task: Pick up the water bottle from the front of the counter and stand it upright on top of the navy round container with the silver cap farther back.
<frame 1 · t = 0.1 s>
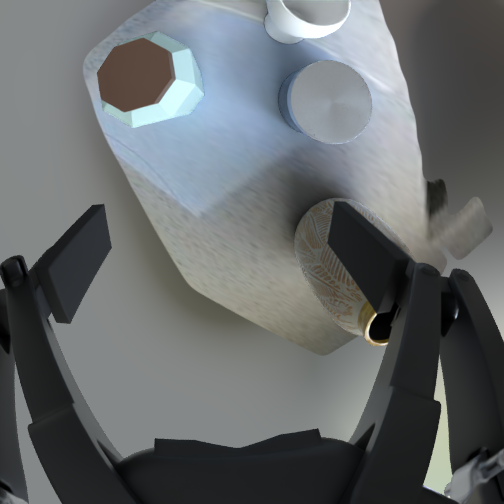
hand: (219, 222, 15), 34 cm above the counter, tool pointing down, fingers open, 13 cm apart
vase: (328, 230, 55), on the counter
water bottle: (175, 90, 39), on the counter
cup: (286, 25, 35), on the counter
navy round container: (313, 101, 42), on the counter
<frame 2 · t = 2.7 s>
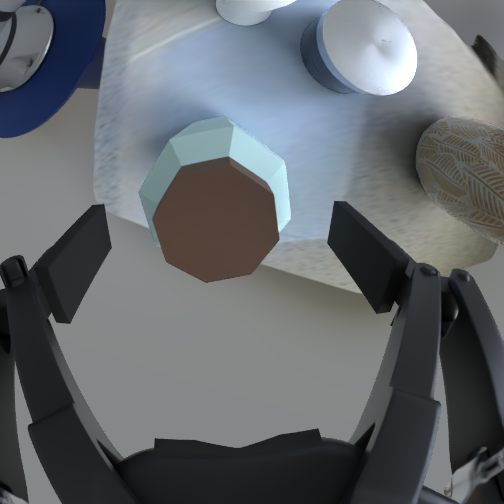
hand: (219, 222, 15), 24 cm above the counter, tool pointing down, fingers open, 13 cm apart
vase: (439, 156, 39), on the counter
water bottle: (215, 150, 36), on the counter
cup: (244, 3, 25), on the counter
navy round container: (342, 53, 30), on the counter
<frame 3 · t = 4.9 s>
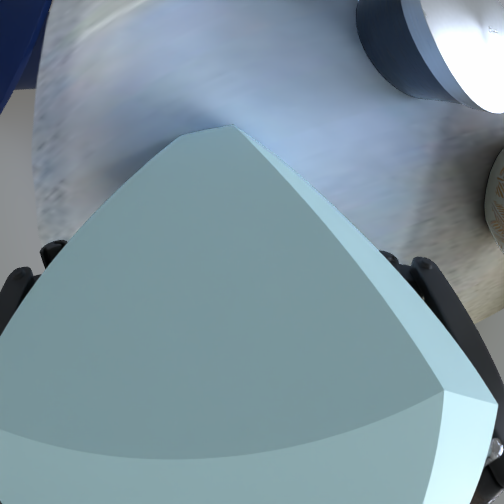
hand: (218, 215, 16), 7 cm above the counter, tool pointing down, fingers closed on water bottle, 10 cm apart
water bottle: (217, 183, 22), on the counter, touching gripper
navy round container: (413, 38, 16), on the counter
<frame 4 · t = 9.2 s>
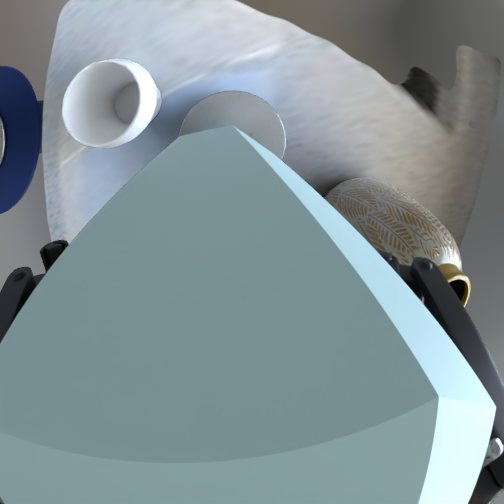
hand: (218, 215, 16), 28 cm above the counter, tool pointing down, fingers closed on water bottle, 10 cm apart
vase: (350, 214, 48), on the counter
water bottle: (217, 184, 22), point 21 cm above the counter, touching gripper
cup: (137, 103, 35), on the counter
navy round container: (228, 135, 39), on the counter
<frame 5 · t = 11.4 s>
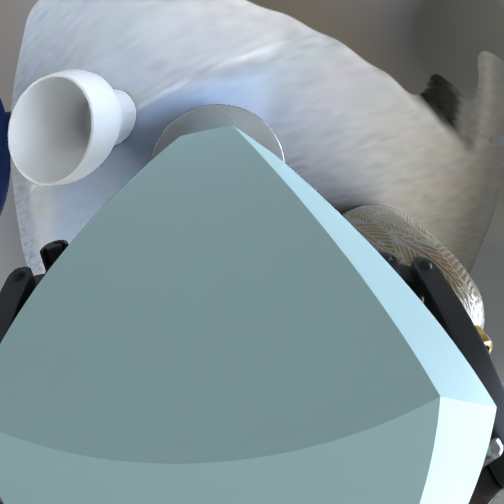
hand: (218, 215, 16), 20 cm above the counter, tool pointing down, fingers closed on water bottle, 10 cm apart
vase: (357, 244, 43), on the counter
water bottle: (217, 184, 22), point 13 cm above the counter, touching gripper
cup: (109, 117, 29), on the counter
navy round container: (216, 156, 33), on the counter
when the fingers open (16 cm above the counter, at t = 13.3 s): water bottle stays where it is, resting on navy round container.
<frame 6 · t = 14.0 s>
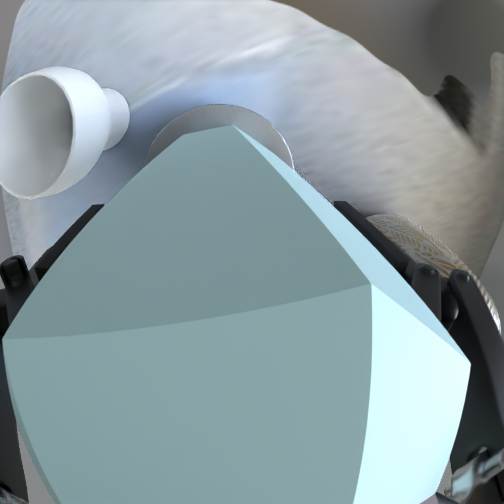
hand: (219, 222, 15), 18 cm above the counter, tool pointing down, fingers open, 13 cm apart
vase: (366, 255, 40), on the counter
water bottle: (218, 181, 23), point 9 cm above the counter, touching navy round container
cup: (100, 119, 26), on the counter
navy round container: (217, 161, 30), on the counter
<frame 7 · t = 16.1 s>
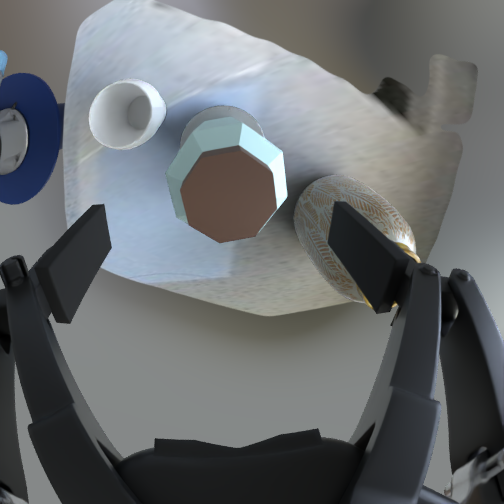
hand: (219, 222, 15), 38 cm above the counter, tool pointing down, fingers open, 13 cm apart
vase: (326, 208, 57), on the counter
water bottle: (222, 147, 40), point 9 cm above the counter, touching navy round container
cup: (146, 112, 43), on the counter
navy round container: (221, 140, 48), on the counter
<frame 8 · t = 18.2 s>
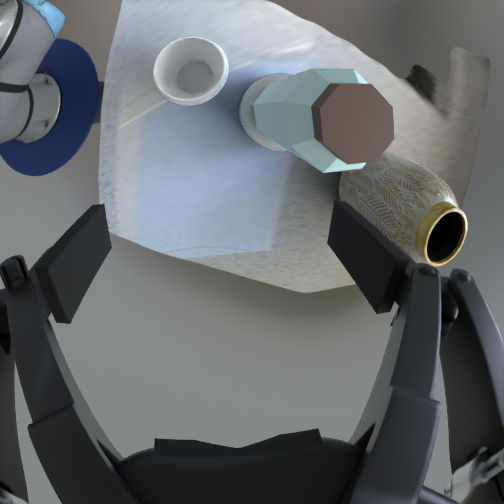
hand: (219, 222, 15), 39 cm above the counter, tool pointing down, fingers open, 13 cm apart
vase: (365, 182, 56), on the counter
water bottle: (282, 112, 39), point 9 cm above the counter, touching navy round container
cup: (196, 79, 42), on the counter
navy round container: (271, 111, 47), on the counter
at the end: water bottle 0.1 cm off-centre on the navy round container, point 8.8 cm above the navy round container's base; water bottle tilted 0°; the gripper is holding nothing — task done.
